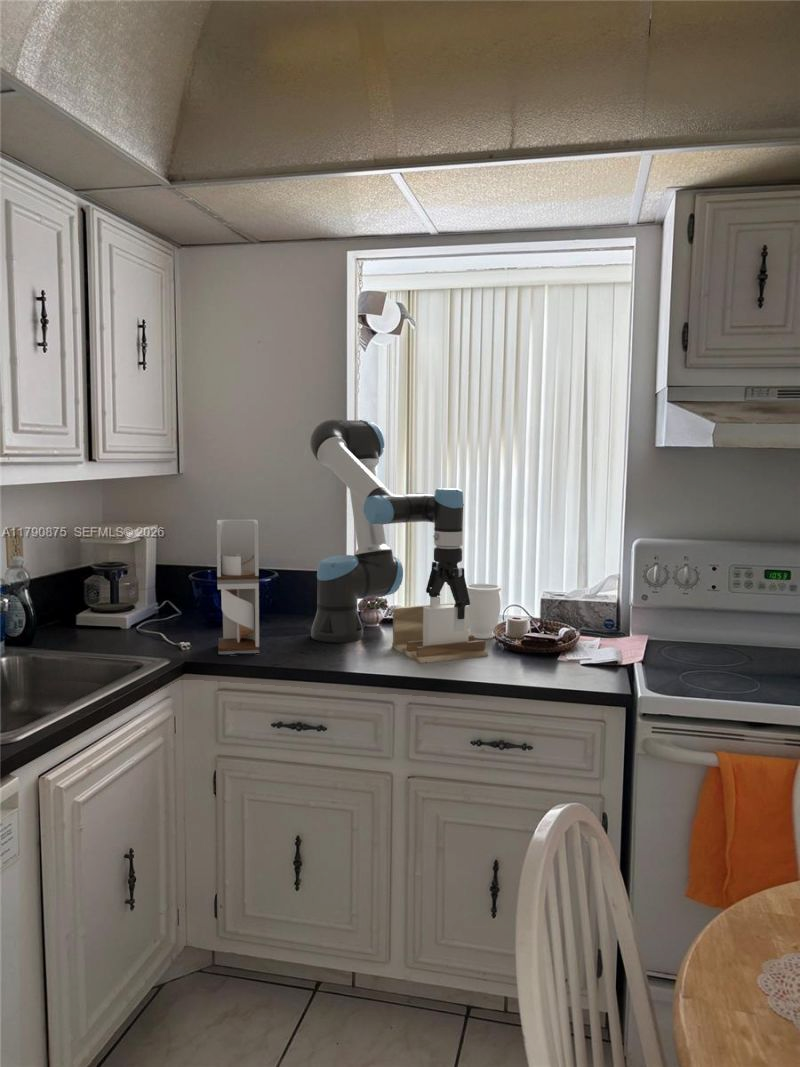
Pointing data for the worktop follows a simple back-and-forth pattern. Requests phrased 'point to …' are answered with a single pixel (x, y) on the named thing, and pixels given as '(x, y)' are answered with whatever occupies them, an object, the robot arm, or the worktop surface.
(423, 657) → the track base
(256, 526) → the spiral ramp tower
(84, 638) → the worktop surface
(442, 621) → the door panel
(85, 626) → the worktop surface
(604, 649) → the worktop surface
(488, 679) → the worktop surface
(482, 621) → the jar
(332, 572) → the robot arm
